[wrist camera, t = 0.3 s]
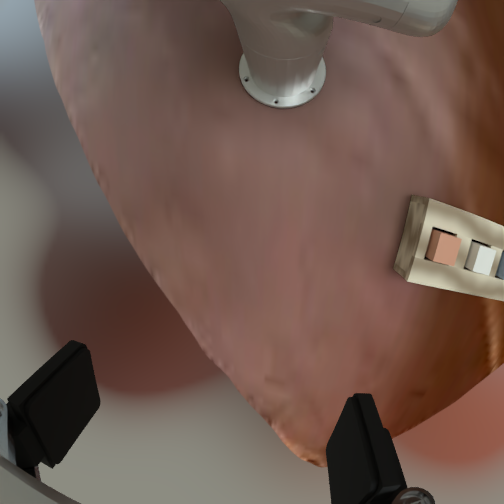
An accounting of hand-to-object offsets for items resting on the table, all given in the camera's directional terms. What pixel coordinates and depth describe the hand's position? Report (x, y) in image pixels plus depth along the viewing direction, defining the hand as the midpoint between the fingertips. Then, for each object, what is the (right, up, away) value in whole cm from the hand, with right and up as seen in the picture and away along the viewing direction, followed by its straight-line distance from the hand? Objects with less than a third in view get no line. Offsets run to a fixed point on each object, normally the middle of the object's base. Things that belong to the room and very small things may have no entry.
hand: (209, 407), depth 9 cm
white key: (+36, +5, +28) cm, 46 cm away
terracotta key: (+28, +7, +29) cm, 41 cm away
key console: (+37, +6, +32) cm, 49 cm away
